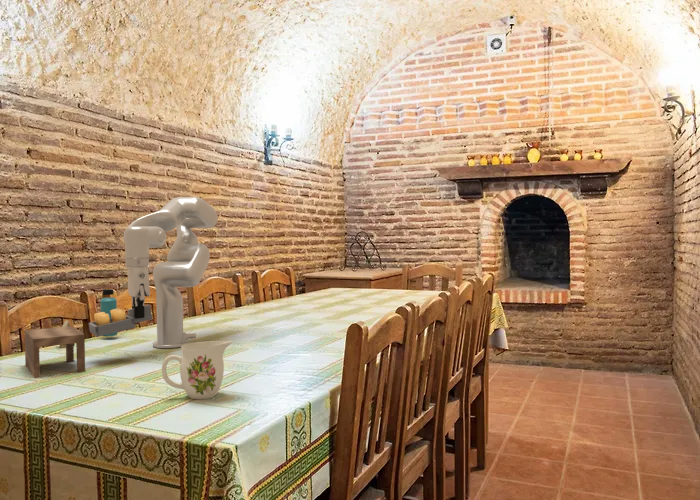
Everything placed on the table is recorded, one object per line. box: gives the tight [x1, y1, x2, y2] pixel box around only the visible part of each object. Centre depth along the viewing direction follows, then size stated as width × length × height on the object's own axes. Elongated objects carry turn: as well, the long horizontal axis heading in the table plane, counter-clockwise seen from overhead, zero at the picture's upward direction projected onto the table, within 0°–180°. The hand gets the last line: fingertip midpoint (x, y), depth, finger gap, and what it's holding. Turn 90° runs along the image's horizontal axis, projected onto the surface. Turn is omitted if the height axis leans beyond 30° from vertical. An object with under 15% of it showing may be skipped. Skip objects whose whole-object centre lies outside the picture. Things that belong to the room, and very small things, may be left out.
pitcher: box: [161, 340, 234, 400], centre depth 155 cm, size 11×18×14 cm, turn 105°
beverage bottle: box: [99, 288, 119, 337], centre depth 242 cm, size 6×7×20 cm
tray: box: [88, 304, 153, 338], centre depth 200 cm, size 19×11×6 cm, turn 124°
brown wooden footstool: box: [24, 325, 86, 379], centre depth 189 cm, size 14×20×11 cm
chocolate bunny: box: [58, 320, 76, 349], centre depth 226 cm, size 6×8×10 cm
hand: (138, 317), depth 203 cm, fingers closed on tray
